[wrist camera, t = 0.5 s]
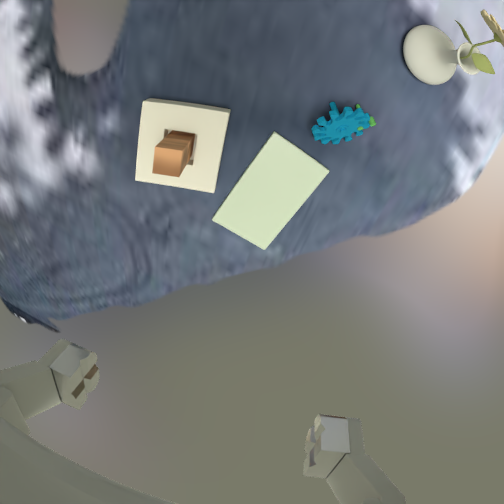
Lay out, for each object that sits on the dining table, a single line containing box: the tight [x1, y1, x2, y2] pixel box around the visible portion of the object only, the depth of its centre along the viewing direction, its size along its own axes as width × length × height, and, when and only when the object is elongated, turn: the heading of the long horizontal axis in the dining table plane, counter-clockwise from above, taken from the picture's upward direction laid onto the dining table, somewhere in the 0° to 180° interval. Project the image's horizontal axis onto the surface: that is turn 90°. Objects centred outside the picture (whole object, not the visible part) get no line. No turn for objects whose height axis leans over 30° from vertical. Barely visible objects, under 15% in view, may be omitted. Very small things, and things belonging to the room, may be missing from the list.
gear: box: [311, 102, 376, 144], centre depth 48 cm, size 11×6×10 cm
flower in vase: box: [403, 10, 504, 85], centre depth 32 cm, size 13×11×25 cm
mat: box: [212, 131, 329, 250], centre depth 58 cm, size 20×12×1 cm, turn 146°
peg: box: [152, 130, 195, 177], centre depth 47 cm, size 4×4×11 cm
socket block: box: [135, 98, 231, 193], centre depth 51 cm, size 14×14×4 cm
